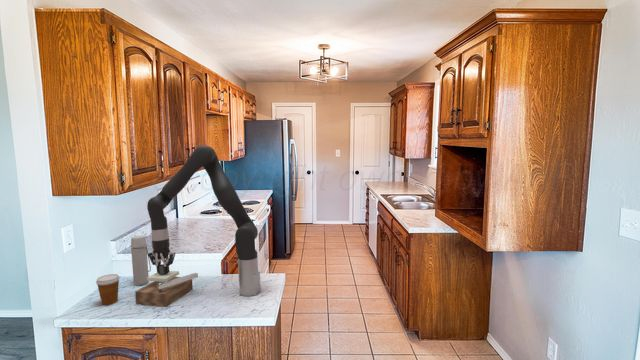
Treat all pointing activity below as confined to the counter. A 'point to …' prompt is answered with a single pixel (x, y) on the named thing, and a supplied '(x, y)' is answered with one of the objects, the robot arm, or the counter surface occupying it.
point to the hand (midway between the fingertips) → (163, 273)
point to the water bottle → (139, 260)
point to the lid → (162, 275)
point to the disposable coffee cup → (108, 288)
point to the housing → (162, 293)
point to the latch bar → (176, 281)
